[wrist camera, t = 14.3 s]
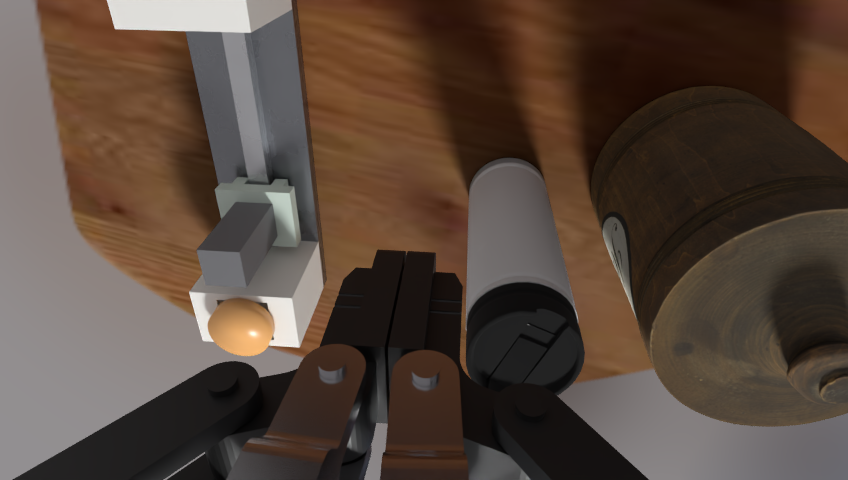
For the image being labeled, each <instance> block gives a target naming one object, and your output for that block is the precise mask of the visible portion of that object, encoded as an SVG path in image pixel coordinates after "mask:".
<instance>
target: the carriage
mask: <svg viewBox="0 0 848 480" xmlns="http://www.w3.org/2000/svg"><path fill="white" fill-rule="evenodd" d="M215 193H216V198H217V202H218V207H219V211H220V216H221V220H220V222H219V223H218V224H217V225H216V227H215V228H214V229H213V230H212V232H211V233H210V234H209V235H208V237H207V238H206V239H205V240H204V241H203V243H202V244H201V245H200V246H199V248H198V249H197V254H198V257H199V261H200V265H201V269H202V273H203V277H204V281H205V285H210V286H227V287H243V288H247V286H248V285H249V283H250V281H251V280H252V278H253V276H254V275H255V273H256V271H257V270H258V268H259V266H260V265H261V263H262V261H263V260H264V258H265V256H266V255H267V253H268V251H269V250H270V248H271V246H284V247H298V245H299V243H300V241H301V235H300V227H299V220H298V212H297V205H296V197H295V189H294V186H288V179H275V180H274V182H273V183H272V184H271V185H254V184H249V180H248V177H237V178H236V179H235V180H234V181H233V183H220V184H219V186H218V187H217V188H216V189H215Z"/></svg>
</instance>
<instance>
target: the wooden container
mask: <svg viewBox="0 0 848 480" xmlns="http://www.w3.org/2000/svg"><path fill="white" fill-rule="evenodd" d="M591 198H592V204H593V208H594V212H595V215H596V217H597V220H598V223H599V226H600V228H601V231H602V234H603V238H604V240H605V243H606V246H607V249H608V251H609V254H610V256H611V259H612V261H613V264H614V266H615V269H616V271H617V273H618V276H619V278H620V280H621V282H622V285H623V287H624V289H625V291H626V294H627V296H628V299H629V301H630V304H631V306H632V309H633V311H634V314H635V316H636V319H637V321H638V325H639V329H640V333H641V336H642V339H643V342H644V345H645V348H646V350H647V353H648V356H649V358H650V360H651V363H652V365H653V367H654V370H655V372H656V374H657V376H658V377H659V379H660V381H661V382H662V384H663V385H664V386H665V388H666V389H667V390H668V391H669V392H670V393H671V394H672V395H673V396H674V397H675V398H676V399H677V400H678V401H680V402H681V403H682V404H684V405H685V406H687V407H689V408H691V409H692V410H694V411H696V412H698V413H701V414H703V415H705V416H708V417H710V418H714V419H717V420H720V421H724V422H729V423H733V424H740V425H750V426H790V425H800V424H806V423H812V422H816V421H821V420H825V419H829V418H833V417H836V416H839V415H843V414H846V413H848V163H847V162H846V161H845V160H843V159H842V158H841V157H840V156H838V155H837V154H836V153H835V152H834V151H832V150H831V149H830V148H829V147H827V146H826V145H825V144H824V143H822V142H821V141H819V140H818V139H817V138H815V137H814V136H813V135H811V134H810V133H809V132H807V131H806V130H804V129H803V128H801V127H800V126H798V125H797V124H796V123H794V122H793V121H791V120H790V119H788V118H787V117H785V116H784V115H782V114H781V113H780V112H778V111H777V110H776V109H774V108H773V107H771V106H770V105H769V104H767V103H766V102H764V101H762V100H761V99H759V98H757V97H755V96H754V95H752V94H749V93H747V92H744V91H741V90H738V89H733V88H728V87H721V86H699V87H691V88H686V89H682V90H678V91H674V92H671V93H669V94H666V95H664V96H662V97H659V98H657V99H655V100H653V101H651V102H650V103H648V104H646V105H645V106H643V107H642V108H640V109H639V110H637V111H636V112H634V113H633V114H632V115H631V116H629V117H628V118H627V119H626V120H625V121H624V122H623V123H622V124H621V125H620V126H619V127H618V128H617V129H616V130H615V131H614V132H613V134H612V135H611V136H610V138H609V139H608V140H607V142H606V143H605V145H604V147H603V148H602V150H601V152H600V154H599V156H598V158H597V161H596V164H595V167H594V170H593V174H592V180H591Z"/></svg>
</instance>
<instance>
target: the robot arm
mask: <svg viewBox="0 0 848 480" xmlns="http://www.w3.org/2000/svg"><path fill="white" fill-rule="evenodd" d="M462 288H463V286H462V284H461V283H460V281H459V279H458V278H457V276H456V274H455V273H442V272H436V253H432V252H414V251H408V252H407V255H406V251H394V250H377V252H376V256H375V259H374V263H373V266H372V269H371V268H355V269H354V270H353V271H352V272H351V273H350V274H349V275H348V276H347V277H346V278H345V279H344V280H343V283H342V286H341V288H340V291H339V296H338V297H337V300H336V302H335V307H334V308H333V311H332V314H331V316H330V319H329V322H328V325H327V328H326V330H325V333H324V336H323V339H322V342H321V344H320V347H319V348H317V349H315V350H313V351H311V352H310V353H309V354H307V355H306V356H305V358H304V359H303V360H302V362H301V363H300V366H299V368H298V369H296V370H293V371H290V372H287V373H282V374H277V375H272V376H266V377H260V378H259V375H258V373H257V371H256V370H255V369H254V368H253V367H252V366H250V365H249V364H246V363H243V362H237V361H230V362H223V363H219V364H216V365H213V366H211V367H209V368H207V369H205V370H203V371H201V372H200V373H198V374H196V375H195V376H193V377H191V378H189V379H188V380H186V381H184V382H182V383H181V384H179V385H177V386H175V387H174V388H172V389H170V390H168V391H167V392H165V393H163V394H161V395H160V396H158V397H156V398H155V399H153V400H151V401H149V402H147V403H146V404H144V405H142V406H140V407H139V408H137V409H136V410H134V411H132V412H130V413H128V414H126V415H125V416H123V417H121V418H120V419H118V420H116V421H114V422H112V423H111V424H109V425H107V426H106V427H104V428H102V429H100V430H99V431H97V432H95V433H93V434H92V435H90V436H88V437H86V438H85V439H83V440H81V441H79V442H78V443H76V444H74V445H72V446H71V447H69V448H67V449H65V450H64V451H62V452H60V453H58V454H57V455H55V456H53V457H52V458H50V459H48V460H46V461H44V462H43V463H41V464H39V465H37V466H36V467H34V468H32V469H30V470H29V471H27V472H25V473H24V474H22V475H20V476H18V477H16V478H15V479H13V480H163V479H165V478H166V477H168V476H169V475H171V474H172V473H174V472H175V471H177V470H178V469H180V468H181V467H183V466H184V465H186V464H187V463H188V462H190V461H191V460H193V459H195V458H196V457H197V456H199V455H200V454H202V453H203V452H205V454H204V455H203V456H201V457H200V458H198V459H197V460H195V461H194V462H192V463H191V464H189V465H188V466H186V467H185V468H183V469H182V470H181V471H179V472H177V473H176V474H175V475H173V476H172V477H170V478H169V479H167V480H364V478H365V475H366V471H367V468H368V464H369V460H370V457H371V452H372V448H371V447H372V446H371V443H372V440H373V436H374V431H375V426H376V423H388V428H387V439H386V450H385V452H384V453H383V457H382V464H381V476H380V480H648V478H646V477H645V476H644V475H643V474H642V473H641V472H640V471H639V470H638V469H637V468H635V467H634V466H633V465H632V464H631V463H630V462H629V461H628V460H627V459H625V458H624V457H623V456H622V455H621V454H620V453H619V452H618V451H617V450H615V448H614V447H612V446H611V445H610V444H609V443H608V442H607V441H606V440H605V439H604V438H603V437H601V436H600V435H599V434H598V433H597V432H596V431H595V430H594V429H593V428H592V427H590V426H589V425H588V424H587V423H586V422H585V421H584V420H583V419H582V418H581V417H579V416H578V415H577V414H576V413H575V412H574V411H573V410H572V409H571V408H570V407H568V406H567V405H566V404H565V403H564V402H563V401H562V400H561V399H560V398H559V397H558V396H556V395H555V394H554V393H553V392H551V391H550V390H548V389H546V388H544V387H542V386H539V385H536V384H530V383H517V384H513V385H510V386H508V387H506V388H504V389H503V390H501V391H500V392H497V391H494V390H491V389H488V388H486V387H483V386H481V385H479V384H477V383H475V382H474V381H473V380H471V379H470V378H469V377H468V376H467V375H466V373H465V372H464V371H463V369H462V367H461V364H460V336H461V312H462Z"/></svg>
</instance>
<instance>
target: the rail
mask: <svg viewBox="0 0 848 480" xmlns="http://www.w3.org/2000/svg"><path fill="white" fill-rule="evenodd" d="M291 3H292V10H290V11H288V12H287V13H285V14H283V15H281V16H280V17H278V18H276V19H274V20H273V21H271V22H269V23H267V24H266V25H264V26H262V27H260V28H259V29H257V30H255V31H253V32H252V33H239V32H203V31H186V36H187V40H188V45H189V50H190V54H191V59H192V63H193V68H194V73H195V77H196V82H197V87H198V91H199V96H200V101H201V105H202V110H203V114H204V119H205V124H206V128H207V133H208V138H209V142H210V147H211V152H212V156H213V161H214V165H215V170H216V175H217V179H218V184H220V183H233V181H234V180H235V179H236V178H237V177H248V180H249V184H254V185H271V184H272V183H273V182H274V180H275V179H288V186H294V189H295V197H296V205H297V212H298V220H299V227H300V235H301V241H313V242H319V251H320V260H321V269H322V278H323V287H324V285H325V282H326V280H327V279H326V269H325V260H324V251H323V241H322V232H321V223H320V214H319V204H318V195H317V186H316V177H315V167H314V158H313V149H312V139H311V130H310V121H309V112H308V102H307V93H306V84H305V75H304V65H303V56H302V47H301V37H300V28H299V19H298V10H297V0H291ZM271 247H279V246H271Z"/></svg>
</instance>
